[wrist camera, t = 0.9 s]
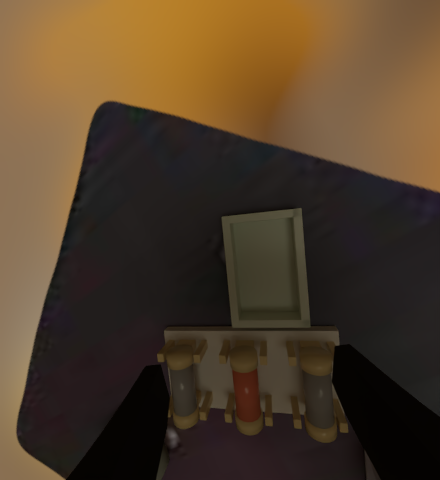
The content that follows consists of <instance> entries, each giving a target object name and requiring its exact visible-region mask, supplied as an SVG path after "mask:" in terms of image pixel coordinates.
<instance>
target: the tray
mask: <svg viewBox="0 0 440 480" xmlns="http://www.w3.org/2000/svg"><path fill="white" fill-rule="evenodd" d="M222 227H223V237H224V248H225V258H226V268H227V279H228V289H229V299H230V310H231V320H232V328H311V326H310V313H309V300H308V287H307V274H306V262H305V249H304V236H303V223H302V210H301V208H298V209H289V210H279V211H270V212H261V213H252V214H242V215H233V216H224V217H222Z"/></svg>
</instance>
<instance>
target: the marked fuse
mask: <svg viewBox="0 0 440 480" xmlns="http://www.w3.org/2000/svg"><path fill="white" fill-rule="evenodd" d="M229 358H230V367H231V368H232V374H233V384H234V395H235V405H236V409H235V419H236V427H237V429H238V430H239V431H240V432H241V433H243V434H245V435H255V434H257V433H259V432H260V431H261V430H262V428H263V425H264V422H263V411H262V408H261V405H260V394H259V383H258V372H257V367H258V356H257V350H256V349H255V348H254V347H251V346H247V345H241V346H237V347H234V348H232V349H231V350H230V352H229Z"/></svg>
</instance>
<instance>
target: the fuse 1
mask: <svg viewBox="0 0 440 480" xmlns="http://www.w3.org/2000/svg"><path fill="white" fill-rule="evenodd" d="M166 357H167V366H168V368H169V371H170V380H171V389H172V398H173V419H174V424H175V426H176V427H178V428H181V429H186V428H190V427H192V426H194V425H195V424H196V423H197V422H198V420H199V418H200V414H199V403H198V401H197V396H196V387H195V378H194V368H193V362H194V357H193V348H192V347H191V346H190V345H185V344H183V345H177V346H174V347H172V348H170V349H169V350H168V351H167V353H166Z"/></svg>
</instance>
